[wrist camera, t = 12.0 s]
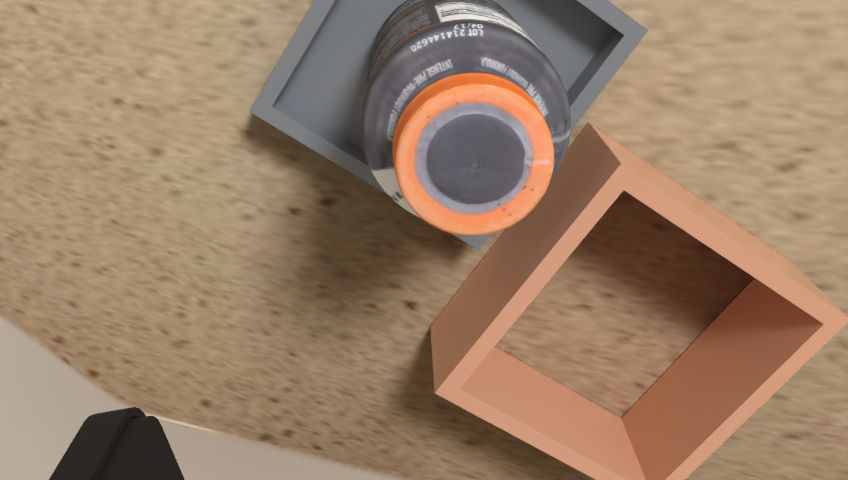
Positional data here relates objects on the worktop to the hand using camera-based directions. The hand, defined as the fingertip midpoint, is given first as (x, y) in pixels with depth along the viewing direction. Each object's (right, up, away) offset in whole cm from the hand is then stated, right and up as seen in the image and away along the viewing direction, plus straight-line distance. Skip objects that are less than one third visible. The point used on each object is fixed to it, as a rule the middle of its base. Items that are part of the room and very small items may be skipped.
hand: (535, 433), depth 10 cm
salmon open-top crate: (+7, 0, +24) cm, 25 cm away
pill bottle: (0, +9, +19) cm, 22 cm away
